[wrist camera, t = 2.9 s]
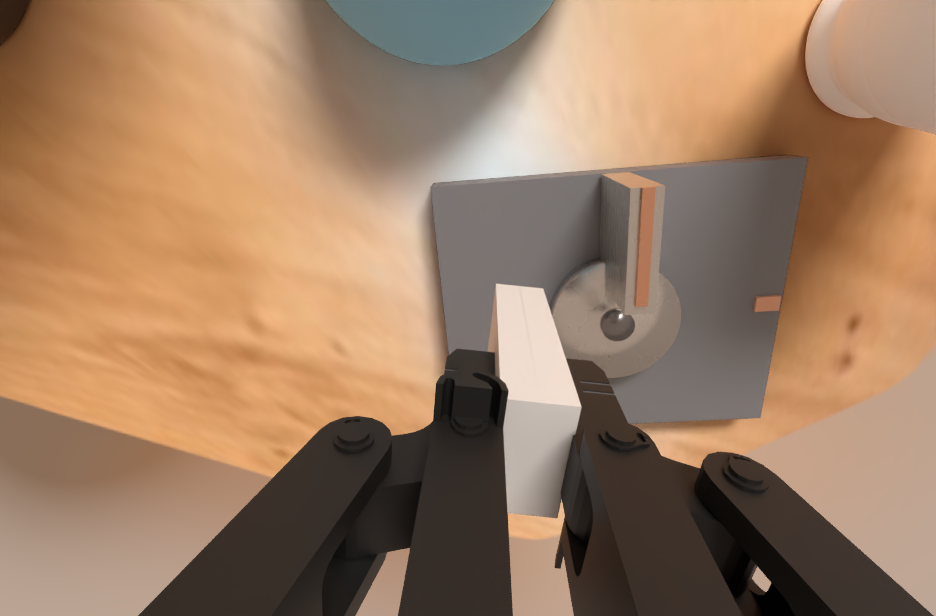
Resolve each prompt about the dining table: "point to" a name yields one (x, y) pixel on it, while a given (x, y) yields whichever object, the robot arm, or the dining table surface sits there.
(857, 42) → the jar
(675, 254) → the board
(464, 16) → the sugar bowl
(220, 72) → the dining table surface
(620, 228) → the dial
